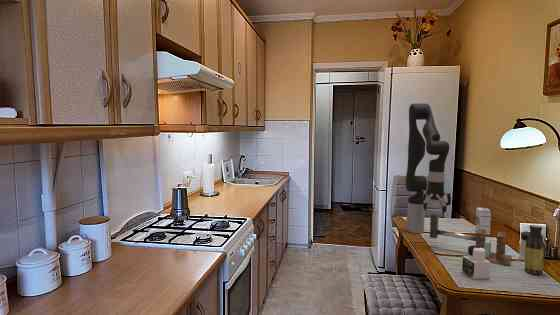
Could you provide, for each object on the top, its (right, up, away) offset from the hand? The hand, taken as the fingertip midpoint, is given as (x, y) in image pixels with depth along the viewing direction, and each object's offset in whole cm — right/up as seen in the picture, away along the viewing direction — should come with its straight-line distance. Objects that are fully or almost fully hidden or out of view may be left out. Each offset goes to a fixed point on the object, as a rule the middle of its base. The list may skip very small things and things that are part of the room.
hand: (434, 211), depth 164 cm
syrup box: (+39, -17, +23) cm, 48 cm away
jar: (+37, -20, -16) cm, 45 cm away
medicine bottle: (+2, -21, -31) cm, 38 cm away
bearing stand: (+19, -20, -13) cm, 31 cm away
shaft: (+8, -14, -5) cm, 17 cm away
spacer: (+18, -19, -13) cm, 29 cm away
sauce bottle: (+28, -21, -29) cm, 45 cm away
